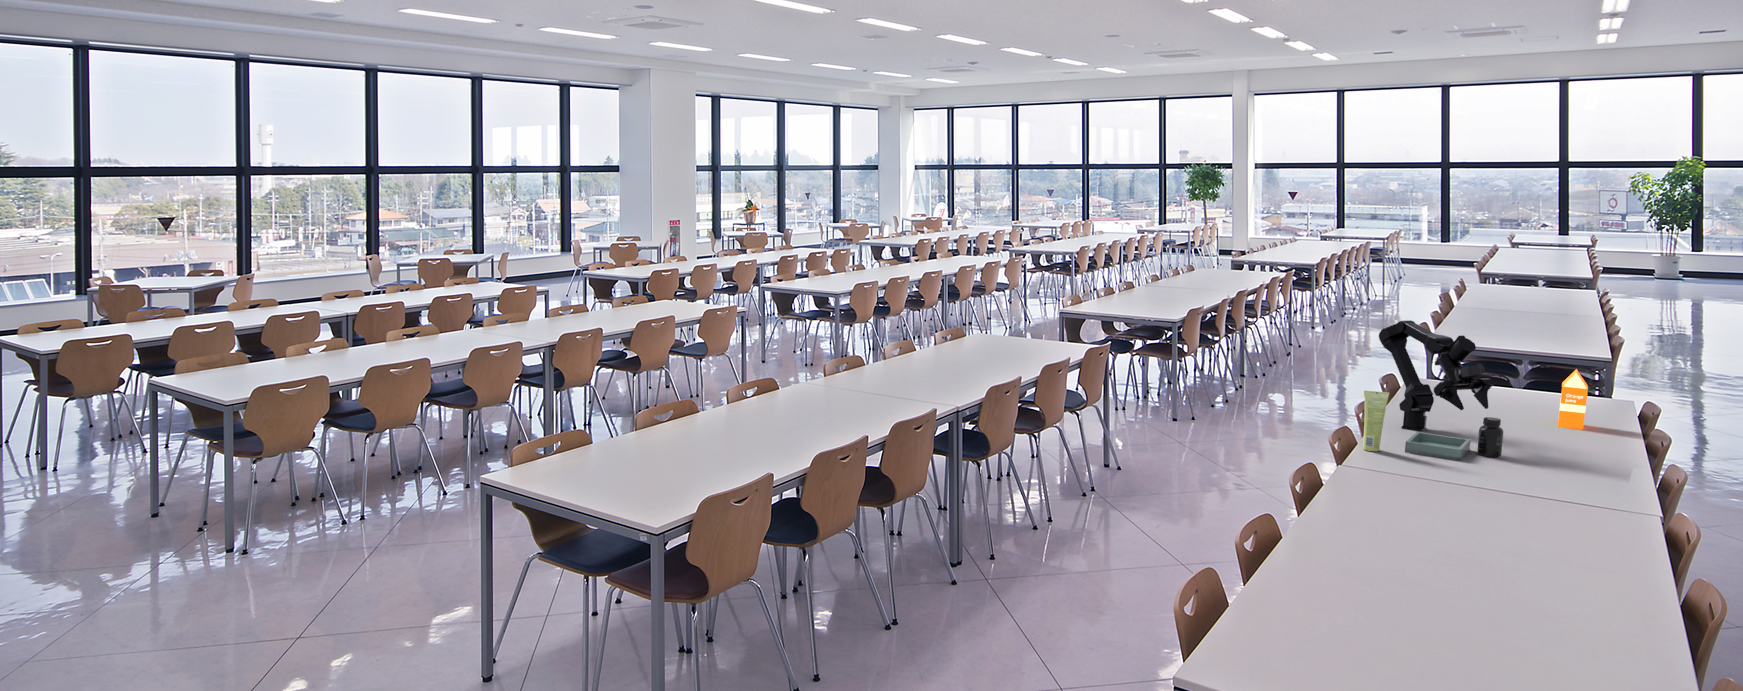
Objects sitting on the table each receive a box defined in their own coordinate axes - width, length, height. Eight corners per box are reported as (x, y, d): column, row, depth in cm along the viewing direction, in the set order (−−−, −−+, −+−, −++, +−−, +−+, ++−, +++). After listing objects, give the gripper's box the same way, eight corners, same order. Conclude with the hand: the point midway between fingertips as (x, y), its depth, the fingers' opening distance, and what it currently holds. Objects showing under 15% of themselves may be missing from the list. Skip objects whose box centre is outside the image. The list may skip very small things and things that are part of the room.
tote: (1404, 452, 350) (1405, 441, 349) (1415, 442, 362) (1416, 431, 362) (1460, 460, 340) (1461, 449, 339) (1469, 450, 352) (1470, 439, 352)
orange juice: (1583, 424, 386) (1589, 369, 383) (1583, 429, 379) (1590, 373, 376) (1557, 421, 391) (1563, 367, 387) (1557, 426, 383) (1563, 371, 380)
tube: (1371, 447, 356) (1376, 388, 352) (1384, 450, 351) (1389, 392, 348) (1359, 449, 353) (1363, 390, 350) (1372, 452, 349) (1377, 393, 345)
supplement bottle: (1495, 452, 350) (1498, 416, 347) (1505, 458, 343) (1509, 421, 341) (1472, 452, 350) (1476, 415, 348) (1482, 457, 343) (1486, 421, 341)
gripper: (1442, 356, 352) (1464, 396, 343) (1492, 354, 356) (1515, 394, 347) (1423, 375, 361) (1444, 415, 352) (1472, 373, 365) (1493, 412, 356)
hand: (1474, 408), depth 352 cm, fingers open, 9 cm apart
